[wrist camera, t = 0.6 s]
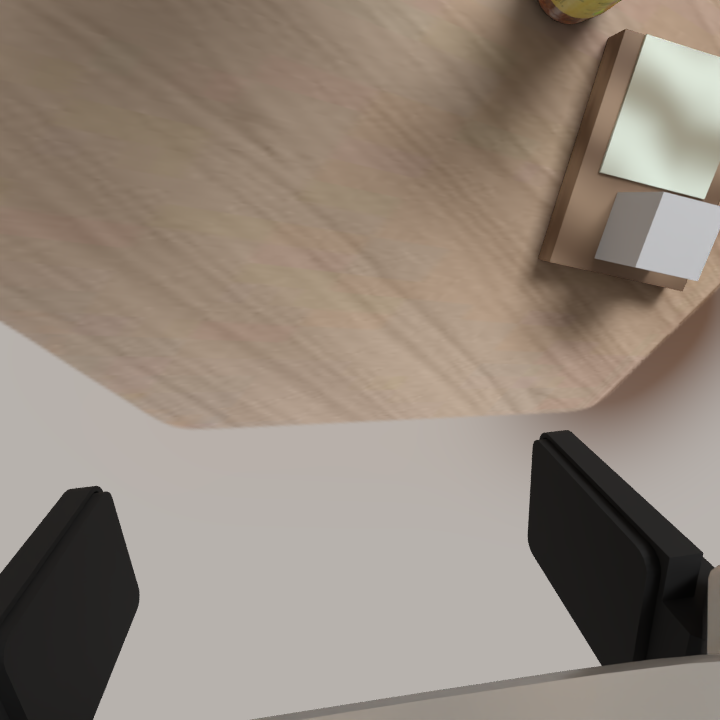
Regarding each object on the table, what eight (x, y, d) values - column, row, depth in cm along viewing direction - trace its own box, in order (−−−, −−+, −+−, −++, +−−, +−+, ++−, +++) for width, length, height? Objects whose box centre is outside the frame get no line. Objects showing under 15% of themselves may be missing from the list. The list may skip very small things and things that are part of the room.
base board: (608, 37, 35) (627, 27, 33) (748, 81, 37) (774, 74, 35) (538, 258, 39) (550, 262, 37) (665, 287, 41) (684, 291, 39)
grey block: (617, 192, 36) (664, 191, 32) (674, 206, 37) (728, 208, 33) (594, 258, 38) (635, 267, 33) (649, 270, 39) (697, 281, 34)
